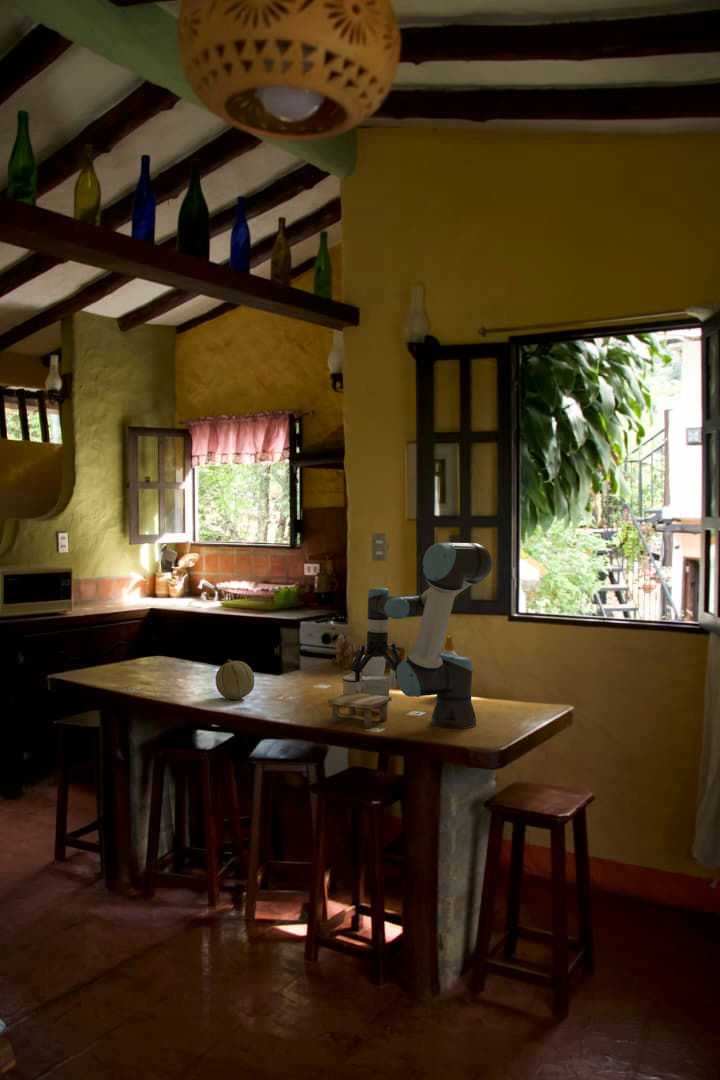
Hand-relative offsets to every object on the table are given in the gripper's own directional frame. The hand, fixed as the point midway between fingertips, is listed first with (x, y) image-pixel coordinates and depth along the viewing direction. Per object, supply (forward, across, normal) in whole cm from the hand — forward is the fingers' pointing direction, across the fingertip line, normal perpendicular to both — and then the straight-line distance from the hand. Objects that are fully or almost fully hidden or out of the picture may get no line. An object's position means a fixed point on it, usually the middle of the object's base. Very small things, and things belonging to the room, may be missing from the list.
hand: (376, 689), depth 319 cm
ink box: (+8, 0, +1) cm, 8 cm away
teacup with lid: (+8, -1, -16) cm, 18 cm away
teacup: (+9, -27, -54) cm, 61 cm away
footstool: (+7, +14, +15) cm, 21 cm away
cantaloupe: (+8, +40, -37) cm, 55 cm away
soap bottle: (+8, -38, -10) cm, 40 cm away
